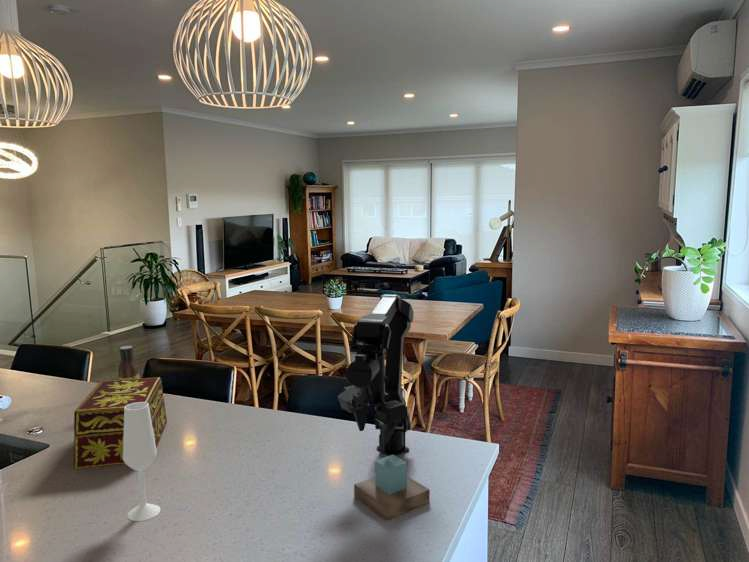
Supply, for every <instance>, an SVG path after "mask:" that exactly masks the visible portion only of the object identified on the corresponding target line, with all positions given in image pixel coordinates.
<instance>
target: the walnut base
mask: <svg viewBox="0 0 749 562" xmlns="http://www.w3.org/2000/svg"><path fill="white" fill-rule="evenodd" d="M430 492H431V491H430V489H429V488H428V487H426V486H424V485H423V484H421V483H420V482H418V481H416V480H415V479H413V478H411V477H410V476H408V475H407V488H405V489H403V490H400V491H398V492H395V493H393V494H390V495H389V494H387V493H386V492H384V491H383V490H381V489H380V488H378V487H376V486H375V476H372V477H371V478H370V477H369V478H368V479H365V480H363V481H359V482H357V483H354V484H353V493H354V494H353V496H354V498H355V499H357V500H358V501H359V502H361V503H362V504H363V505H365V506H366V507H367V508H369V509H370V510H372V511H373V512H374V513H375V514H377V515H379V516H380V517H381V518H382V519H384V520H385V521H388V520H390V519H393V518H396V517H398V516H400V515H402V514H405V513H408V512H409V511H412V510H415V509H417V508H419V507H422V506H425V505H426V504H428V503H430Z"/></svg>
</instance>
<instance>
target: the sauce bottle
mask: <svg viewBox="0 0 749 562" xmlns="http://www.w3.org/2000/svg"><path fill="white" fill-rule="evenodd" d="M133 351H134V348H133V346H132V345H123V346H121V347H119V351H118V352H119V353H120V364H119V366H118V380H127V379H141V378H140V372H139V367H138V363H137V362H136V361H135V359H134V353H133Z"/></svg>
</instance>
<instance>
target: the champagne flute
mask: <svg viewBox="0 0 749 562" xmlns="http://www.w3.org/2000/svg"><path fill="white" fill-rule="evenodd" d="M157 451H158V450H157V449H156V444H155V438H154V433H153V427H152V421H151V415H150V409H149V404H148V403H146V402H136V403H131V404H128V405H126V406H125V407H124V436H123V461H124V462H125V463H126V464H125V465H126V466H127V467H129V468H130V469H131V470H134V471H136V472H138V473H137V474H138V475H137V476H138V487H139V502H140V504H139V505H137V506H136V507H134V508H132V509H130V510H129V512H128V513H127V519H128V520H131V521H133V522H141V521H148V520H149V519H153V518H155V517H156V516H157V515H159V514H160V512H161V507H160V506H159V505H157V504H153V503H147V495H146V477H145V470H146V469H148V468H149V466H150V465H152V464H153V462H154V460H155V459H156V457H157V455H158V452H157Z"/></svg>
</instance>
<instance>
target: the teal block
mask: <svg viewBox="0 0 749 562" xmlns="http://www.w3.org/2000/svg"><path fill="white" fill-rule="evenodd" d="M374 462H375V463H374V465H375V466H374V467H375V468H374V470H375V471H374V473H375V475H374V477H375V486H376V487H378V488H380V489H381V490H383V491H384V492H386V493H387V494H389V495H390V494H393V493H395V492H398V491H400V490H403V489H405V488H407V476H408V470H407V469H408V462H407V461H405V460H403V459H401V458H400V457H398V456H397V455H390V456H389V455H387V456H384V457H381V458H379V459H376V460H374Z"/></svg>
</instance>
